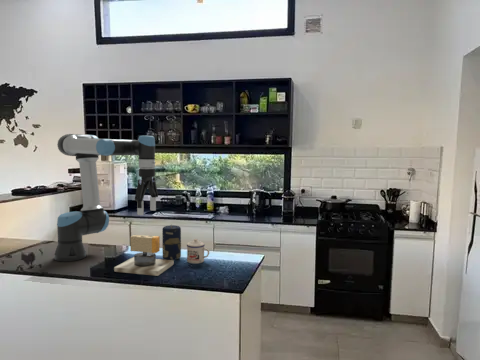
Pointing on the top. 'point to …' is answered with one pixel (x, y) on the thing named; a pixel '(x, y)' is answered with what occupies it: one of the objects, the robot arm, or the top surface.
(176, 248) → the canister
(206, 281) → the top surface
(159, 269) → the base plate
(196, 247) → the teacup with lid
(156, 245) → the yellow block on stand
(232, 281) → the top surface
